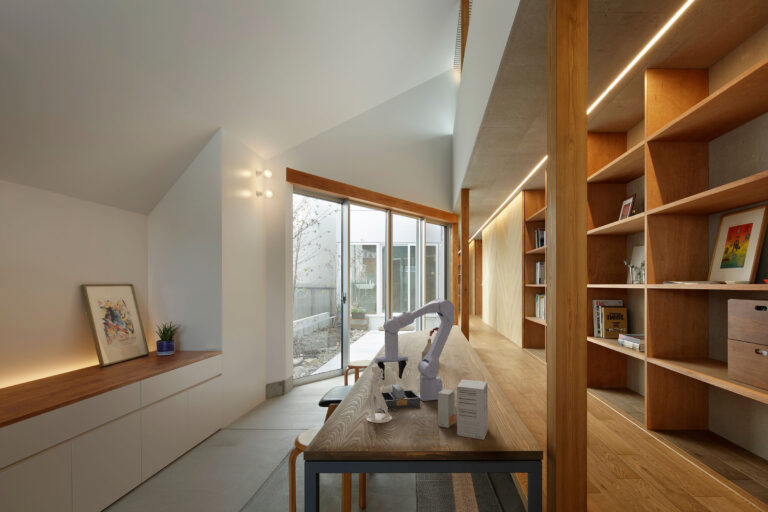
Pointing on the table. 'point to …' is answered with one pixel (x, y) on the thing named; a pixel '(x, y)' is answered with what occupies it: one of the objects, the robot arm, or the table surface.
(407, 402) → the divided tray
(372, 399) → the female figurine
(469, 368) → the table surface
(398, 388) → the grey rectangular block
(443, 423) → the skincare box
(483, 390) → the supplement box
